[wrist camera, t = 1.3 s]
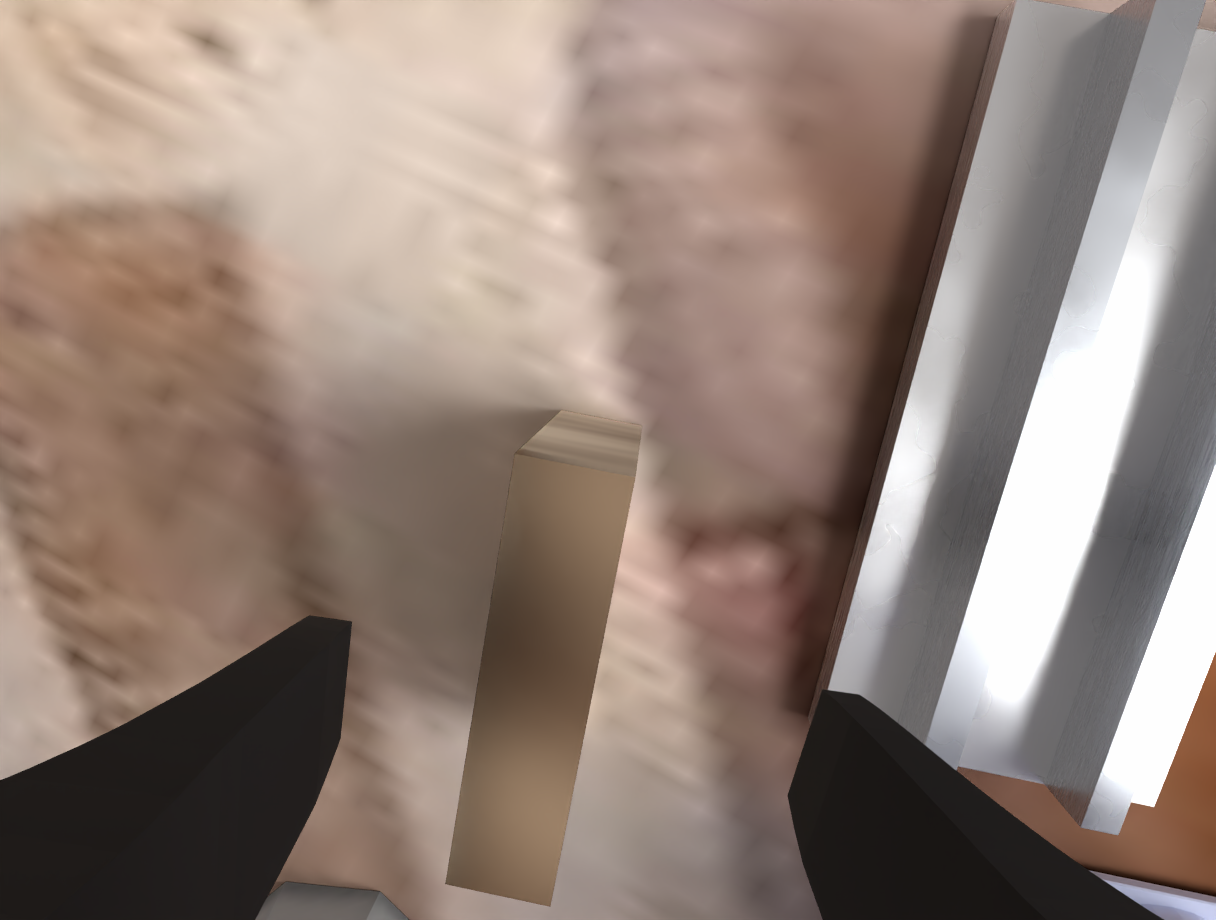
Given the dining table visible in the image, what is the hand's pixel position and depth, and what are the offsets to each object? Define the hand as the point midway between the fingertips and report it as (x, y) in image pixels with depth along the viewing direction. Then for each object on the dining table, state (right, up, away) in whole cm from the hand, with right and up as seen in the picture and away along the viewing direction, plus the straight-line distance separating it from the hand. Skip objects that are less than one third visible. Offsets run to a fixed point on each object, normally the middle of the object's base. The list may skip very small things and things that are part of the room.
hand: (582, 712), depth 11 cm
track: (+13, +4, +9) cm, 17 cm away
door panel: (-1, 0, +11) cm, 11 cm away
